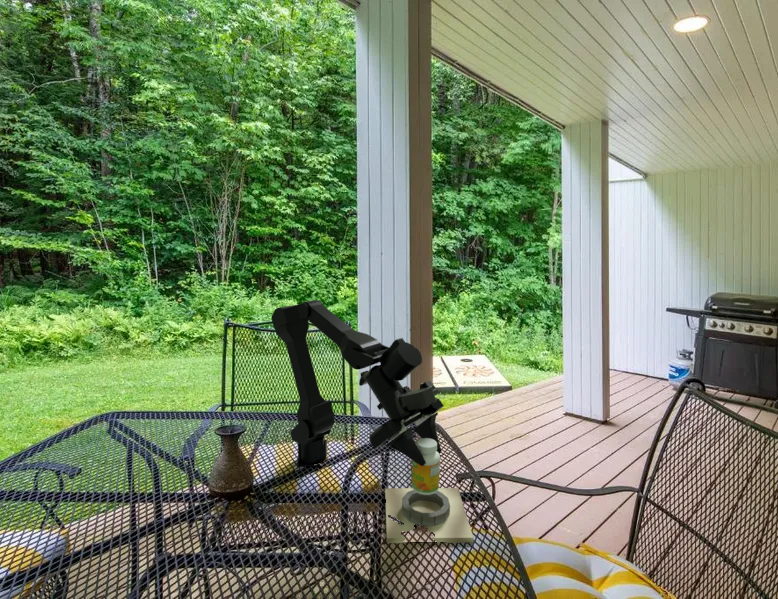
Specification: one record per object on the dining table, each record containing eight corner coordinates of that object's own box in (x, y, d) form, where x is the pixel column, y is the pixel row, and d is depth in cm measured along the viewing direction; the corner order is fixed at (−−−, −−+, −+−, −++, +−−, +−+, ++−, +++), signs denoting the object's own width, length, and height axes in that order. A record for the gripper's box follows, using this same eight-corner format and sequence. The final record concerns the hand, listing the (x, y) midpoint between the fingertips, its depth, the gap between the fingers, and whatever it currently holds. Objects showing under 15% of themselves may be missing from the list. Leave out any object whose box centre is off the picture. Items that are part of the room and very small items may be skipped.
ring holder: (386, 543, 83) (387, 528, 82) (385, 492, 98) (385, 480, 98) (473, 542, 83) (473, 527, 83) (457, 492, 99) (458, 479, 98)
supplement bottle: (406, 486, 90) (407, 441, 89) (425, 477, 94) (426, 433, 92) (425, 499, 86) (427, 452, 85) (444, 489, 90) (446, 443, 88)
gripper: (382, 383, 81) (431, 460, 76) (437, 360, 96) (482, 424, 91) (350, 412, 87) (394, 486, 82) (406, 387, 102) (446, 448, 97)
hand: (432, 459), depth 88 cm, fingers closed on supplement bottle, 5 cm apart
